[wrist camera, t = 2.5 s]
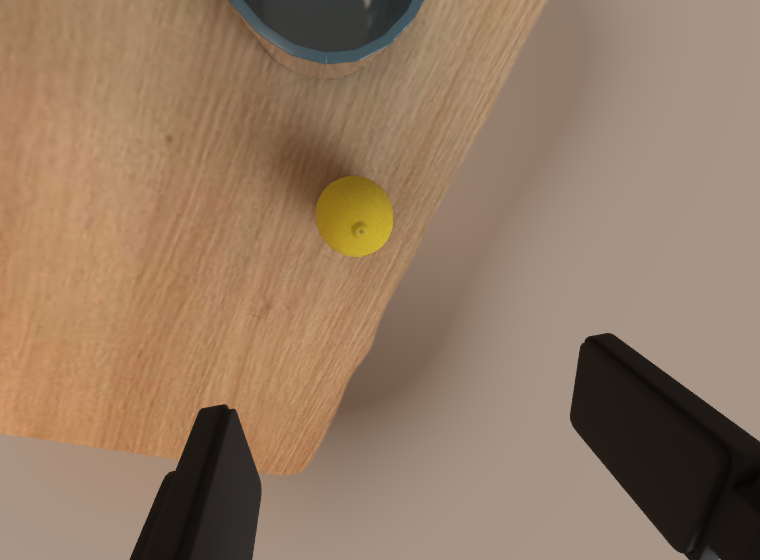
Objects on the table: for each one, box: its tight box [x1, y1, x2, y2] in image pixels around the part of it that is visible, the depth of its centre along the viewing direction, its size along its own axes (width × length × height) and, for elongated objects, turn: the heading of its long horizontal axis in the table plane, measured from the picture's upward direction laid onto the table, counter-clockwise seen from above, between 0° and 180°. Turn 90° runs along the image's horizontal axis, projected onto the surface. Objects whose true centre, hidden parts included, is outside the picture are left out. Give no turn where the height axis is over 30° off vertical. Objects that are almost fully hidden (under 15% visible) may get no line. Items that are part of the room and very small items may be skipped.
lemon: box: [316, 176, 394, 257], centre depth 27 cm, size 6×6×8 cm
